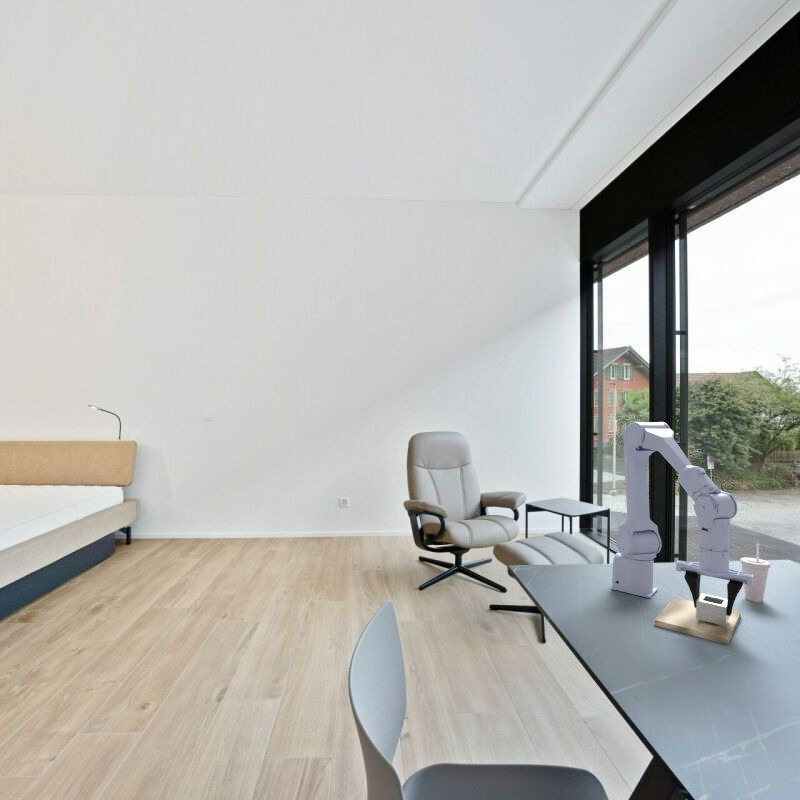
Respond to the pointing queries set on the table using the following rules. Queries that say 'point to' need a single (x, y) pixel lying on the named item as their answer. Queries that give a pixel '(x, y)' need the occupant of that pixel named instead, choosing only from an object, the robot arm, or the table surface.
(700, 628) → the post board
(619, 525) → the robot arm
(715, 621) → the steel collar
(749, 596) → the smoothie
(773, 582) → the table surface
